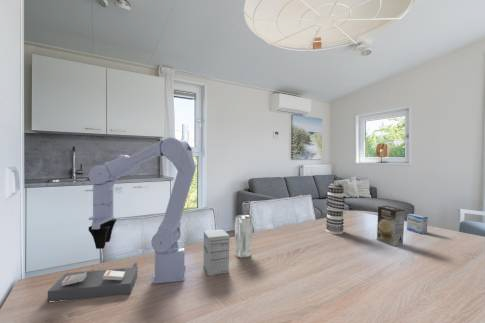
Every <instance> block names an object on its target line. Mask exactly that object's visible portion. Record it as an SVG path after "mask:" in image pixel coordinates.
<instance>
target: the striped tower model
mask: <svg viewBox="0 0 485 323" xmlns="http://www.w3.org/2000/svg"><path fill="white" fill-rule="evenodd" d="M327 189H328V190H327V193H326V196H325V197H326V209H327V214H326V224H325V231H326V233H329V234H332V235H333V234H334V235H342V234H344V227H345V226H344V224H345V222H344V220H345V219H344V212H345V202H346V198H345V197H344V196H345V193H344V189H345V187H344V185H343V184H341V183H338V182H337V183H334V182H332V183H330V184H329V185H328V186H327Z"/></svg>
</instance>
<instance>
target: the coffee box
mask: <svg viewBox="0 0 485 323" xmlns="http://www.w3.org/2000/svg"><path fill="white" fill-rule="evenodd" d="M377 208H378V209H377V227H376V230H377V231H376V240H377V241H379V242H382V243H385V244H386V245H390V246H393V247H397V246H403V245H404V234H405V232H404V228H405V213H406V212H405V211H406V210H405V209H402V208H398V207H394V206H390V205H382V206H377Z"/></svg>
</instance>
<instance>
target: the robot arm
mask: <svg viewBox="0 0 485 323" xmlns="http://www.w3.org/2000/svg"><path fill="white" fill-rule="evenodd" d="M156 157H165V158H166V159H167V160H168V161H170V162H171V163H172V164H173V166H174V167H175V168H176V171H177V173H176V175H175V180H174V183H173V186H172V189H171V193H170V196H169V198H168V204H167V207H166V208H165V209H166V210H165V212H164V217H163V219H162V222H161V223H160V225H159V226H158V228H157V231H156V233H155V234H154V235H153V236H152V238H151V240H150V241H151V243H150V244H151V247H152V249H153V250H154V272H153V276H152V279H151V284H162V283H173V282H175V283H176V282H183V281H185V271H186V264H185V247H180V246H179V244H178V241H179V240H180V239H181V225H182V223H181V219H182V216H183V212H184V209H185V205H186V202H187V199H188V197H189V196H188V195H189V193H190V190H191V189H190V188H191V187H192V183H193V179H194V177H195V176H194V175H195V172H196V168H197V167H196V164H195V159H194V155H193V148H192V147H191V145H190V144H189V143H188V142H187V141H186V140H185V139H181V138H176V137H172V136H171V137H167V138H165V139H161V140H159V141H157V142H155V143H153V144H151V145H149V146H148V147H146V148H143V149H142V150H140V151H138V152H136V153H134V154H133V155H131V156H130V155H128V154H124V155H123V154H119V155H117V156H116V158H115V159H112V160H110V161H105V162H104V164H103V165H94V166H93V167H92V168H91V169H90V170H89V172H88V179H89V181H90V182H91V184H92V216H89V217H88V221H92V223H91V226H89V227H88V232H89V233H90V234H91V236H92V239H93V242H94V245H95V248H96V250H100V249H105V247H106V243H110V241H111V238H112V234H113V233H112V232H113V230H114V227H115V225H116V222H117V219H116V218H115V215H114V186H115V182H116V180H117V179H119V178H121V177H123V176H125V175H127V174H129V173H132V172H133V171H135V169H136V166H137V165H140V164H142V163H144V162H147V161H149V160H152V159H153V158H156Z"/></svg>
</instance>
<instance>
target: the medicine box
mask: <svg viewBox="0 0 485 323" xmlns="http://www.w3.org/2000/svg"><path fill="white" fill-rule="evenodd" d="M406 217H407V220H406V230H407V231H409V232H412V231H413V233H416V234H420V235H424V234H425V233H426V234H427V233H428V221H429V220H428V217H427V216H423V215H419V214H414V213H408V214H407V216H406Z"/></svg>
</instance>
